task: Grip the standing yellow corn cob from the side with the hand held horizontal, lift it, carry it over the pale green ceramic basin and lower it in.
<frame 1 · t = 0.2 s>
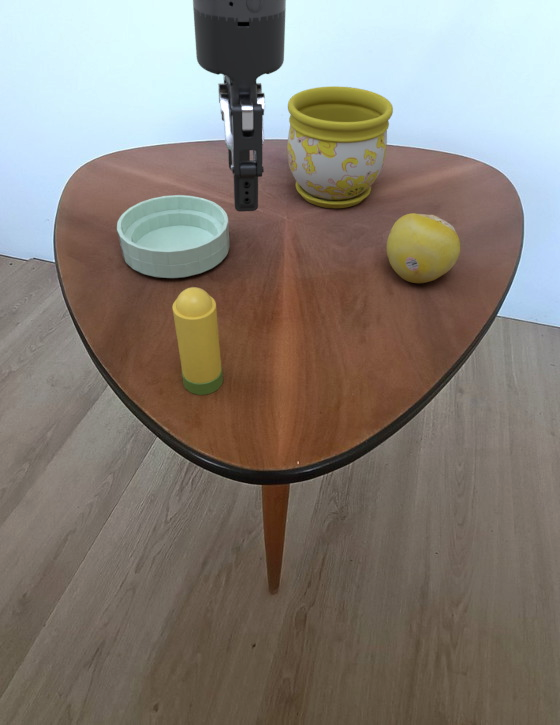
hand: (242, 188, 56), 24 cm above the table, tool pointing down, fingers open, 8 cm apart
basin: (177, 251, 91), on the table
flowerpot: (332, 193, 106), on the table
fruit: (416, 275, 87), on the table
corn cob: (203, 380, 70), on the table
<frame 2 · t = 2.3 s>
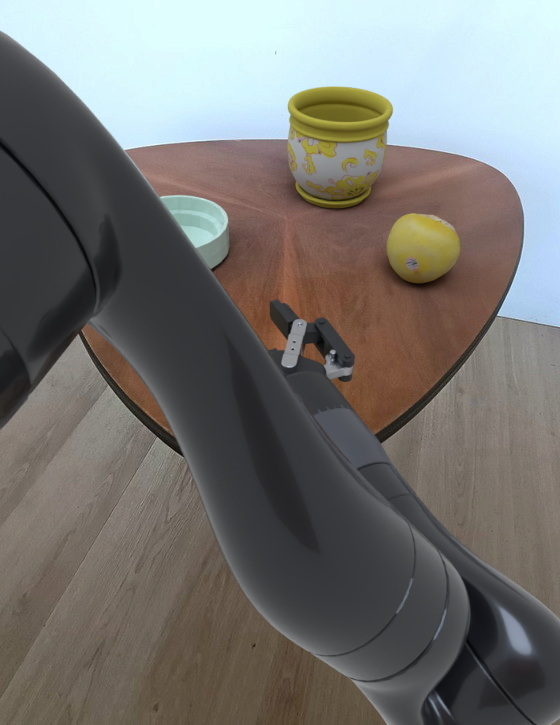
hand: (230, 320, 50), 18 cm above the table, tool horizontal, fingers open, 8 cm apart
nothing on the table moved.
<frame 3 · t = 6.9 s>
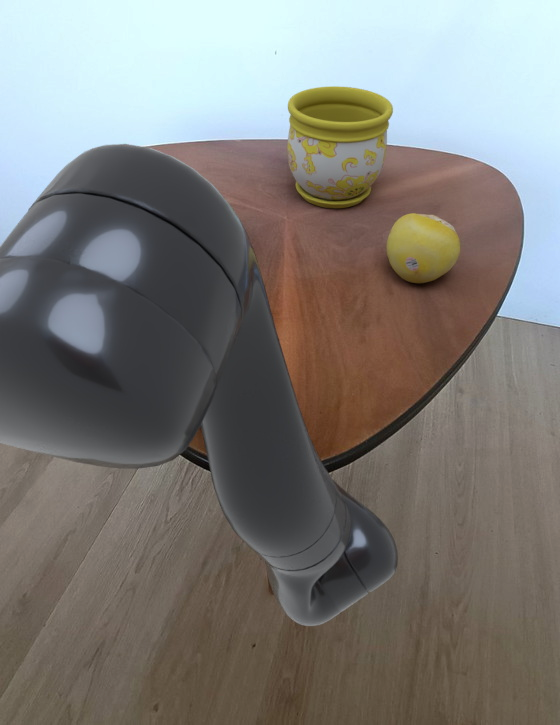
hand: (189, 322, 66), 8 cm above the table, tool horizontal, fingers closed on corn cob, 4 cm apart
corn cob: (203, 380, 70), on the table, touching gripper
everything else where it was.
when the fingers open (8 cm above the table, at t = 16.3 s): corn cob stays where it is, resting on basin.
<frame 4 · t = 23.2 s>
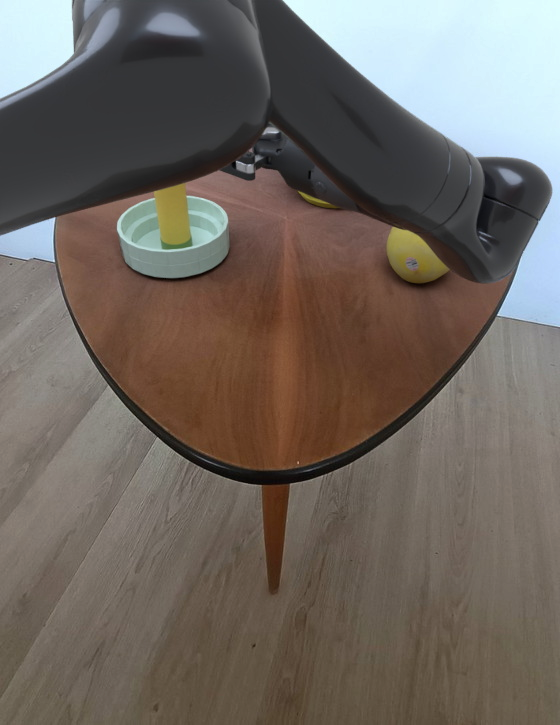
hand: (223, 123, 63), 26 cm above the table, tool horizontal, fingers open, 8 cm apart
corn cob: (177, 247, 90), point 1 cm above the table, touching basin
everything else where it was.
at the end: corn cob inside the target area in the basin (0.1 cm from its centre), point 0.8 cm above the basin's base; the gripper is holding nothing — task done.
